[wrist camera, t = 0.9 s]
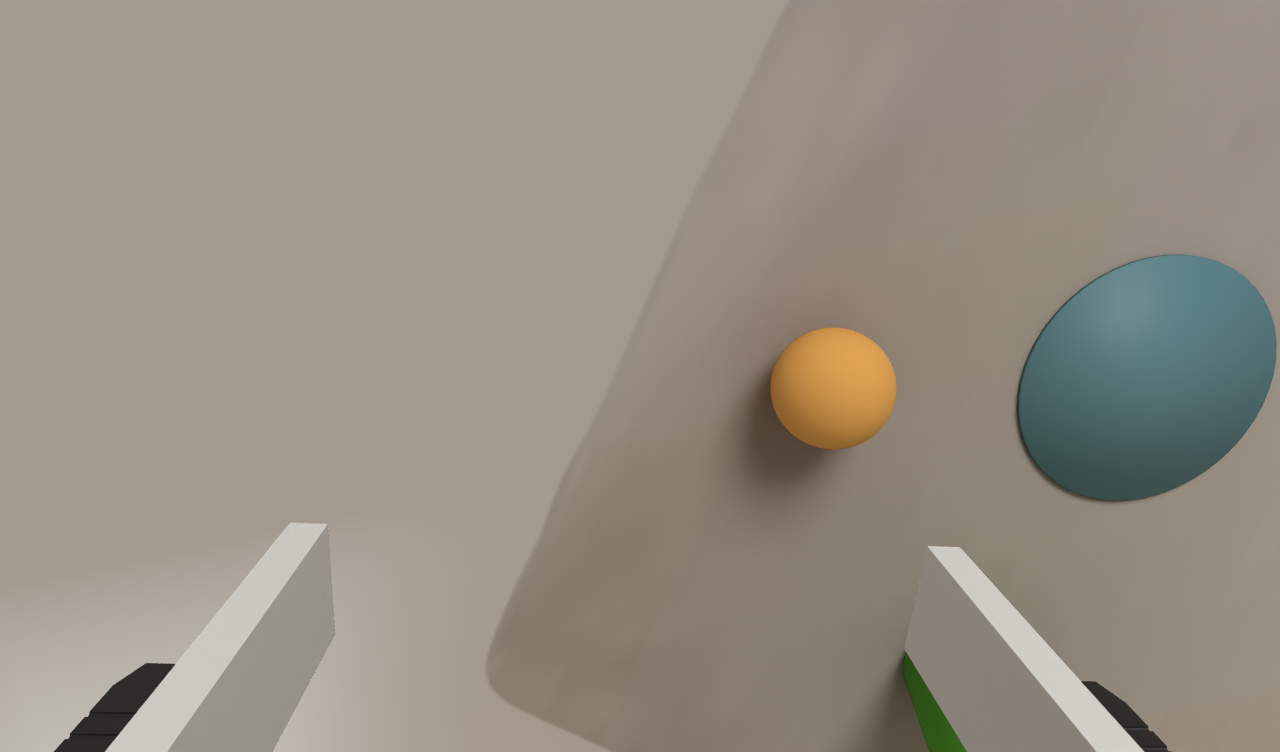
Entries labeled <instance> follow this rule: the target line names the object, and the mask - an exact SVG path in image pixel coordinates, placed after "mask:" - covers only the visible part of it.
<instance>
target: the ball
mask: <svg viewBox="0 0 1280 752" xmlns="http://www.w3.org/2000/svg"><path fill="white" fill-rule="evenodd" d="M896 393H897V384H896V378H895V373H894V370H893V367H892V365H891V363H890V361H889V359H888V357H887V356H886V354H885V353H884V351H883V350H882V349H881V348H880V347H879V346H878V345H877V344H876V343H875V342H873V341H872V340H871V339H869V338H868V337H866V336H864V335H862V334H860V333H858V332H856V331H853V330H849V329H844V328H823V329H818V330H814V331H811V332H809V333H806V334H804V335H802V336H801V337H799V338H797V339H796V340H795V341H793V342H792V343H791V344H790V345H789V346H788V347H787V348H786V349H785V350H784V351H783V352H782V354H781V355H780V357H779V359H778V361H777V363H776V365H775V367H774V370H773V373H772V378H771V399H772V403H773V407H774V409H775V412H776V414H777V416H778V418H779V419H780V421H781V422H782V424H783V425H784V426H785V428H786V429H787V430H788V431H789V432H790V433H791V434H792V435H794V436H795V437H797V438H798V439H800V440H801V441H803V442H805V443H807V444H809V445H812V446H815V447H819V448H823V449H843V448H849V447H853V446H856V445H858V444H861V443H863V442H865V441H867V440H868V439H870V438H871V437H873V436H874V435H875V434H876V433H877V432H878V431H879V430H880V429H881V428H882V427H883V426H884V425H885V423H886V422H887V420H888V419H889V417H890V415H891V413H892V410H893V408H894V404H895V400H896Z"/></svg>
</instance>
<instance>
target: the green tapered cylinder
mask: <svg viewBox="0 0 1280 752" xmlns="http://www.w3.org/2000/svg"><path fill="white" fill-rule="evenodd" d="M904 677H905V680H906V684H907V687H908V690H909V693H910V696H911V699H912V702H913V704H914V707H915V710H916V713H917V716H918V719H919V722H920V725H921V728H922V731H923V734H924V737H925V740H926V743H927V746H928V749H929V752H967V751H966V749H965V747H964V746H963V744H962V743H961V741H960V739H959V738H958V736H957V734H956V733H955V731H954V729H953V728H952V726H951V725H950V723H949V721H948V720H947V718H946V716H945V715H944V713H943V711H942V710H941V708H940V707H939V705H938V703H937V702H936V700H935V698H934V697H933V695H932V693H931V692H930V690H929V688H928V687H927V685H926V684H925V682H924V680H923V679H922V677H921V675H920V674H919V672H918V670H917V669H916V667H915V666H914V664H913V662H912V661H911V659H910V657H909V656H908V654H907V652H906V656H905V659H904Z"/></svg>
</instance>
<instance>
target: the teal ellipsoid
mask: <svg viewBox="0 0 1280 752" xmlns="http://www.w3.org/2000/svg"><path fill="white" fill-rule="evenodd" d="M1275 361H1276V336H1275V328H1274V324H1273V321H1272V317H1271V314H1270V311H1269V309H1268V307H1267V305H1266V303H1265V301H1264V299H1263V298H1262V296H1261V295H1260V293H1259V292H1258V291H1257V289H1256V288H1255V287H1254V286H1253V285H1252V284H1251V283H1250V282H1249V281H1248V280H1247V279H1246V278H1245V277H1244V276H1242V275H1241V274H1240V273H1238V272H1237V271H1235V270H1234V269H1232V268H1230V267H1228V266H1226V265H1224V264H1222V263H1219V262H1217V261H1213V260H1210V259H1206V258H1202V257H1196V256H1188V255H1163V256H1156V257H1149V258H1145V259H1141V260H1138V261H1134V262H1131V263H1128V264H1126V265H1123V266H1121V267H1118V268H1116V269H1113V270H1111V271H1110V272H1108V273H1106V274H1104V275H1102V276H1100V277H1099V278H1097V279H1095V280H1094V281H1092V282H1091V283H1089V284H1088V285H1087V286H1085V287H1084V288H1082V289H1081V290H1080V291H1078V292H1077V293H1076V294H1075V295H1074V296H1073V297H1072V298H1070V299H1069V300H1068V301H1067V302H1066V303H1065V304H1064V305H1063V306H1062V307H1061V308H1060V309H1059V310H1058V311H1057V313H1056V314H1055V315H1054V316H1053V317H1052V318H1051V320H1050V321H1049V322H1048V324H1047V325H1046V326H1045V328H1044V329H1043V330H1042V332H1041V334H1040V335H1039V337H1038V339H1037V341H1036V342H1035V344H1034V346H1033V348H1032V350H1031V352H1030V355H1029V357H1028V359H1027V361H1026V364H1025V367H1024V371H1023V374H1022V377H1021V382H1020V388H1019V394H1018V417H1019V425H1020V429H1021V433H1022V437H1023V440H1024V442H1025V444H1026V447H1027V449H1028V451H1029V453H1030V455H1031V456H1032V458H1033V459H1034V461H1035V462H1036V464H1037V465H1038V466H1039V467H1040V468H1041V469H1042V470H1043V471H1044V473H1045V474H1047V475H1048V476H1049V477H1050V478H1052V479H1053V480H1054V481H1055V482H1057V483H1058V484H1060V485H1061V486H1063V487H1065V488H1067V489H1068V490H1070V491H1073V492H1075V493H1078V494H1080V495H1083V496H1087V497H1091V498H1095V499H1102V500H1113V501H1114V500H1132V499H1139V498H1145V497H1149V496H1153V495H1157V494H1160V493H1163V492H1166V491H1168V490H1171V489H1174V488H1176V487H1178V486H1180V485H1182V484H1184V483H1186V482H1188V481H1190V480H1192V479H1194V478H1195V477H1197V476H1198V475H1200V474H1202V473H1203V472H1205V471H1206V470H1208V469H1209V468H1210V467H1211V466H1213V465H1214V464H1215V463H1217V462H1218V461H1219V460H1220V459H1221V458H1222V457H1223V456H1225V455H1226V454H1227V453H1228V452H1229V451H1230V450H1231V449H1232V448H1233V447H1234V446H1235V445H1236V443H1237V442H1238V441H1239V440H1240V439H1241V438H1242V436H1243V435H1244V434H1245V433H1246V431H1247V430H1248V428H1249V427H1250V426H1251V424H1252V423H1253V421H1254V420H1255V418H1256V416H1257V414H1258V413H1259V411H1260V409H1261V407H1262V405H1263V403H1264V401H1265V398H1266V396H1267V393H1268V391H1269V388H1270V385H1271V381H1272V378H1273V374H1274V368H1275Z"/></svg>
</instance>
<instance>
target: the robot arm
mask: <svg viewBox="0 0 1280 752" xmlns="http://www.w3.org/2000/svg"><path fill="white" fill-rule="evenodd" d="M332 595H333V594H332V581H331V565H330V550H329V534H328V524H311V523H289V525H288V526H287V527H286V528H285V530H284V531H283V532H282V534H281V535H280V536H279V537H278V538H277V540H276V541H275V542H274V543H273V545H272V546H271V547H270V548H269V550H268V551H267V552H266V553H265V554H264V556H263V557H262V558H261V559H260V561H259V562H258V563H257V564H256V566H255V567H254V568H253V569H252V570H251V572H250V573H249V574H248V575H247V577H246V578H245V579H244V580H243V582H242V583H241V584H240V585H239V587H238V588H237V589H236V590H235V592H234V593H233V594H232V595H231V597H230V598H229V599H228V600H227V601H226V603H225V604H224V605H223V606H222V608H221V609H220V610H219V611H218V613H217V614H216V615H215V616H214V618H213V619H212V620H211V621H210V622H209V624H208V625H207V626H206V627H205V629H204V630H203V631H202V632H201V634H200V635H199V636H198V637H197V639H196V640H195V641H194V643H192V645H191V646H190V647H189V648H188V650H187V651H186V652H185V653H184V655H183V656H182V657H181V658H180V660H179V661H178V662H177V663H176V664H157V663H154V664H153V663H146V664H144V665H143V666H141V667H140V668H138V669H137V670H135V671H134V672H133V673H131V674H129V675H128V676H126V677H125V678H123V679H122V680H121V681H119V682H117V683H116V684H115V685H113V686H112V687H111V688H110V689H109V691H108V692H107V693H106V694H105V695H104V696H103V697H102V698H101V700H100V701H99V702H98V703H97V704H96V705H95V706H94V708H92V710H91V711H90V714H89V716H88V717H85V718H84V719H83V720H82V721H81V722H80V723H79V724H78V725H77V726H76V728H75V729H74V730H73V731H72V732H71V733H70V737H69V739H65V740H64V741H63V742H62V743H61V744H60V746H59V747H58V748H57V749H56V750H55V751H54V752H272V751H273V750H274V748H275V746H276V744H277V742H278V740H279V738H280V736H281V735H282V733H283V731H284V729H285V727H286V725H287V723H288V721H289V720H290V717H291V716H292V714H293V712H294V710H295V708H296V706H297V704H298V703H299V701H300V699H301V697H302V695H303V693H304V691H305V690H306V688H307V686H308V684H309V682H310V680H311V678H312V676H313V674H314V673H315V671H316V669H317V667H318V665H319V663H320V661H321V660H322V658H323V656H324V653H325V652H326V650H327V648H328V646H329V644H330V642H331V641H332V639H333V637H334V635H335V625H334V610H333V596H332ZM904 649H905V651H906V652H907V654H908V656H909V657H910V659H911V661H912V662H913V664H914V666H915V667H916V669H917V670H918V672H919V674H920V675H921V677H922V679H923V680H924V682H925V684H926V685H927V687H928V688H929V690H930V692H931V693H932V695H933V697H934V698H935V700H936V702H937V703H938V705H939V707H940V708H941V710H942V711H943V713H944V715H945V716H946V718H947V720H948V721H949V723H950V725H951V726H952V728H953V729H954V731H955V733H956V734H957V736H958V738H959V739H960V741H961V743H962V744H963V746H964V747H965V749H966V751H967V752H1171V751H1168V750H1167V746H1166V745H1165V744H1164V743H1163V742H1162V741H1161V740H1160V739H1159V737H1158V736H1157V735H1156V734H1155V733H1154V732H1153V731H1149V730H1148V726H1147V725H1146V724H1145V723H1144V722H1143V721H1142V720H1141V718H1140V717H1139V716H1138V715H1137V714H1136V713H1135V712H1134V711H1133V710H1132V709H1131V708H1130V707H1129V706H1128V705H1127V704H1126V703H1125V702H1124V701H1122V700H1121V699H1120V698H1118V697H1117V696H1115V695H1114V694H1112V693H1111V692H1109V691H1108V690H1107V689H1105V688H1104V687H1102V686H1101V685H1099V684H1098V683H1097V682H1092V681H1080V680H1079V679H1078V678H1077V677H1076V675H1075V674H1074V673H1073V672H1072V671H1071V670H1070V669H1069V668H1068V667H1067V665H1066V664H1065V663H1064V662H1063V661H1062V660H1061V659H1060V658H1059V657H1058V656H1057V654H1056V653H1055V652H1054V651H1053V650H1052V649H1051V648H1050V647H1049V646H1048V644H1047V643H1046V642H1045V641H1044V640H1043V639H1042V638H1041V637H1040V636H1039V634H1038V633H1037V632H1036V631H1035V630H1034V629H1033V628H1032V627H1031V626H1030V624H1029V623H1028V622H1027V621H1026V620H1025V619H1024V618H1023V617H1022V616H1021V614H1020V613H1019V612H1018V611H1017V610H1016V609H1015V608H1014V607H1013V606H1012V605H1011V603H1010V602H1009V601H1008V600H1007V599H1006V598H1005V597H1004V596H1003V595H1002V593H1001V592H1000V591H999V590H998V589H997V588H996V587H995V586H994V585H993V583H992V582H991V581H990V580H989V579H988V578H987V577H986V576H985V575H984V573H983V572H982V571H981V570H980V569H979V568H978V567H977V566H976V565H975V563H974V562H973V561H972V560H971V559H970V558H969V557H968V556H967V555H966V553H965V552H964V551H963V550H962V549H961V548H960V547H937V546H927V549H926V554H925V558H924V562H923V567H922V571H921V576H920V580H919V584H918V589H917V593H916V597H915V602H914V606H913V610H912V615H911V619H910V624H909V628H908V632H907V637H906V641H905V645H904Z"/></svg>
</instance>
